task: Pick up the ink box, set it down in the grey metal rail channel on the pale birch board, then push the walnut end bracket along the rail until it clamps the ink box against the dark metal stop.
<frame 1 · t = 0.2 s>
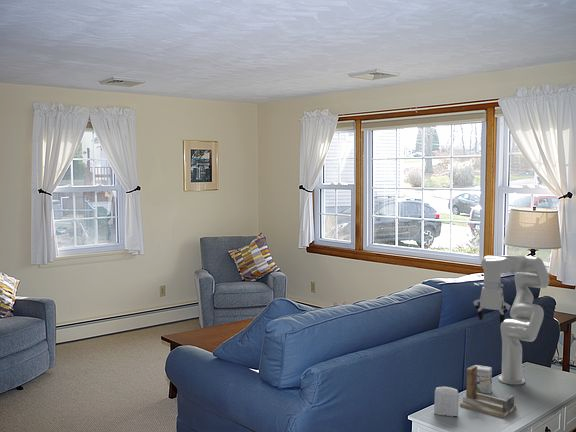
hand: (491, 320, 289), 36 cm above the table, tool pointing down, fingers open, 9 cm apart
ink box: (481, 391, 296), on the table
end bracket: (471, 383, 281), point 9 cm above the table, slide at 0.0 cm
rail board: (487, 407, 276), on the table
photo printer: (446, 415, 269), on the table
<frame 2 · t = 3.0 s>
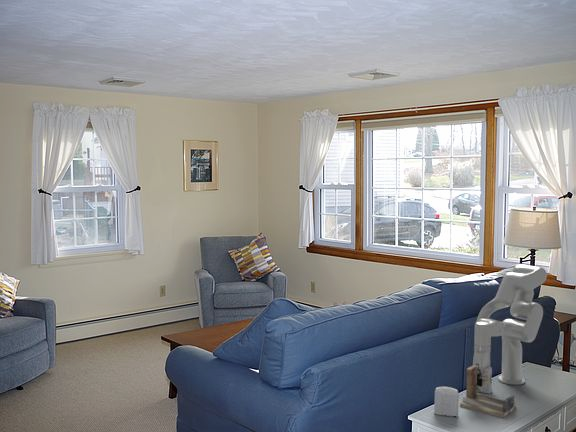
hand: (481, 383, 296), 4 cm above the table, tool pointing down, fingers closed on ink box, 6 cm apart
ink box: (481, 391, 296), on the table, touching gripper
everything else where it was.
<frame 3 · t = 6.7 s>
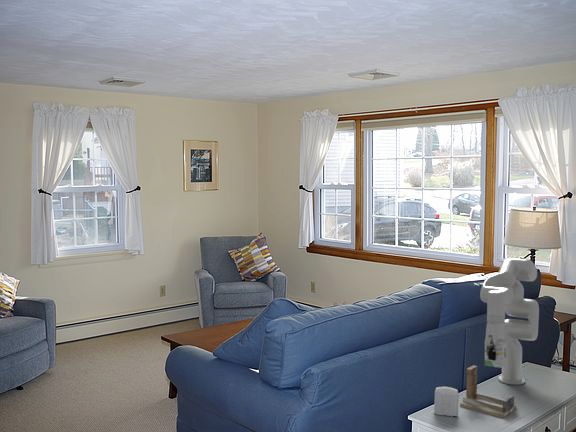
hand: (495, 357, 273), 23 cm above the table, tool pointing down, fingers closed on ink box, 6 cm apart
ink box: (494, 366, 273), point 20 cm above the table, touching gripper
everything else where it was.
when the fingers open (6 cm above the table, at t = 10.4 s): ink box stays where it is, resting on rail board.
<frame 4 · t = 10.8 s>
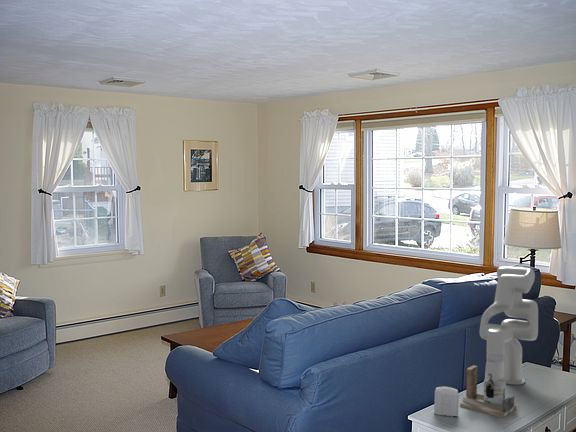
hand: (494, 394, 274), 7 cm above the table, tool pointing down, fingers open, 9 cm apart
ink box: (494, 406, 274), point 1 cm above the table, touching rail board
everything else where it was.
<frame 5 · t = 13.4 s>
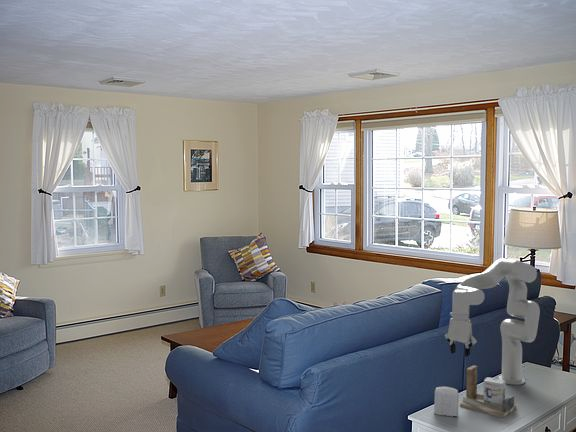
hand: (460, 354, 284), 22 cm above the table, tool pointing down, fingers open, 6 cm apart
nothing on the table moved.
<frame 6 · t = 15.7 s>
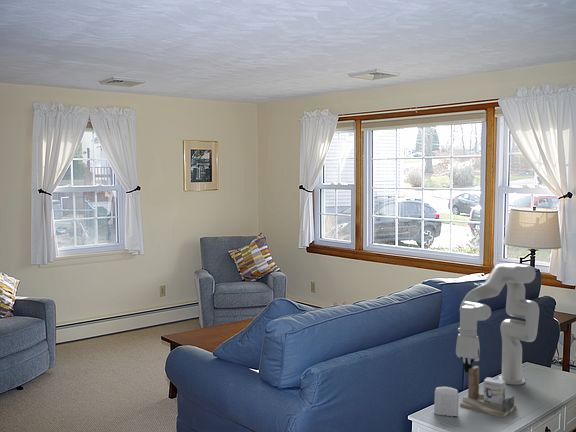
hand: (467, 371, 282), 14 cm above the table, tool pointing down, fingers closed
end bracket: (473, 383, 280), point 9 cm above the table, slide at 1.0 cm, touching gripper
everything else where it was.
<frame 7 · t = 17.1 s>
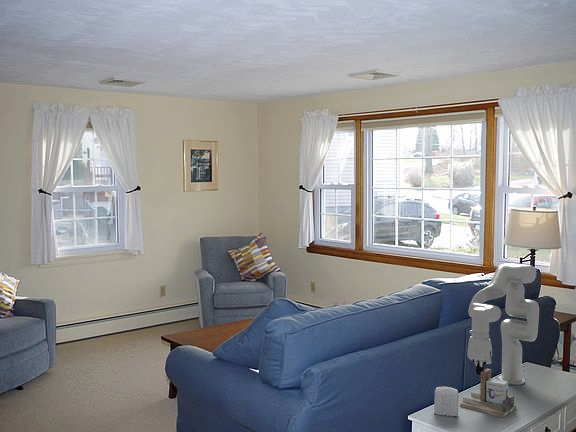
hand: (479, 374, 278), 14 cm above the table, tool pointing down, fingers closed
ink box: (496, 406, 273), point 1 cm above the table, touching end bracket, rail board
end bracket: (485, 386, 276), point 9 cm above the table, slide at 6.8 cm, touching gripper, ink box
everything else where it was.
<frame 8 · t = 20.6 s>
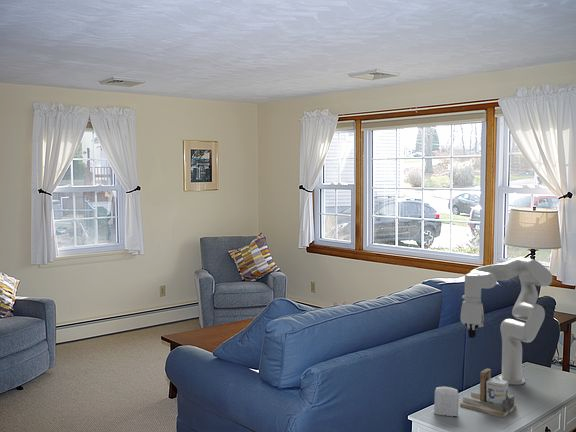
hand: (472, 337, 292), 27 cm above the table, tool pointing down, fingers closed
ink box: (496, 406, 273), point 1 cm above the table, touching rail board
end bracket: (485, 386, 277), point 9 cm above the table, slide at 6.6 cm
everything else where it was.
at the end: end bracket slide at 6.6 cm; ink box 0.4 cm from the target spot on the rail board, point 1.3 cm above the rail board's base; ink box tilted 0° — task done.
